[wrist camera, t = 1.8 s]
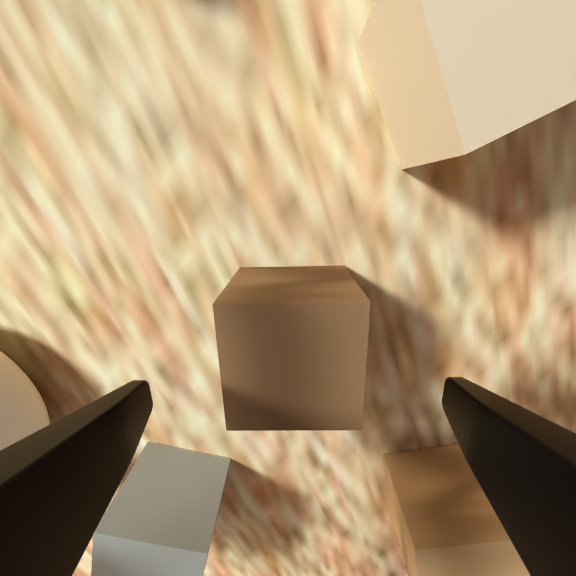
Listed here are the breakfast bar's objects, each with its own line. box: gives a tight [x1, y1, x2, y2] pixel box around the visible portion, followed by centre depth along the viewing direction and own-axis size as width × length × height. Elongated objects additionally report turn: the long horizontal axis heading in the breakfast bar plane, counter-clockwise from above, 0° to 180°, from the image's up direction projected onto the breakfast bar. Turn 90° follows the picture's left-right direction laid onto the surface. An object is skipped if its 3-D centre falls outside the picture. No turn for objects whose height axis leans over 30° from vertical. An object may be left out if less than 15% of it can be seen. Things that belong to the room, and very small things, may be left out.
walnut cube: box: [213, 266, 371, 431], centre depth 12 cm, size 5×5×5 cm
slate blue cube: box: [91, 442, 231, 576], centre depth 16 cm, size 5×5×5 cm
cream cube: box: [357, 0, 576, 169], centre depth 9 cm, size 5×5×5 cm
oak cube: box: [383, 444, 530, 576], centre depth 16 cm, size 5×5×5 cm
